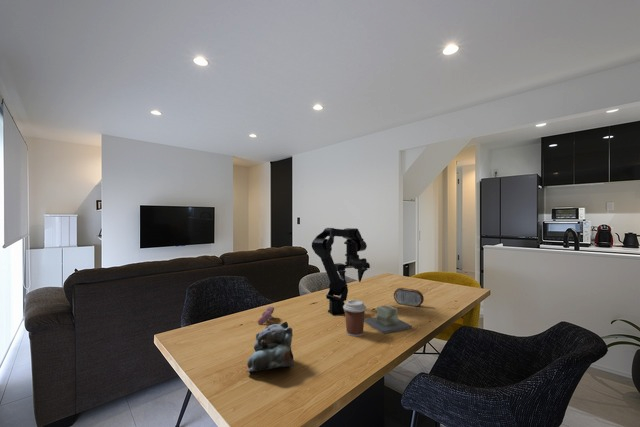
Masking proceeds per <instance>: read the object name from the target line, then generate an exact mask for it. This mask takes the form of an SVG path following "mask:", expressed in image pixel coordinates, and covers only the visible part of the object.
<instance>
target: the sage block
mask: <svg viewBox="0 0 640 427" xmlns="http://www.w3.org/2000/svg"><path fill="white" fill-rule="evenodd" d="M376 317H377V321H378V322H380V323H382V324H384V325H385V326H387V325H392V324H398V319H399V318H398V308H396V307H393V306H392V305H389V304H386V305H379V306H377V307H376Z"/></svg>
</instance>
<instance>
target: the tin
mask: <svg viewBox="0 0 640 427" xmlns="http://www.w3.org/2000/svg"><path fill="white" fill-rule="evenodd" d="M393 299H394V301H395V302H396V303H397V304H399V305H404V306H409V307H414V308H417V307H420V306H421V305H422V304H423V303H424V300H425V299H424V295H423V293H422V292H421V291H419V290H418V289H413V288H406V287H398V288H396V289H395V291H394V293H393Z"/></svg>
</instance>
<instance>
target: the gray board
mask: <svg viewBox="0 0 640 427" xmlns="http://www.w3.org/2000/svg"><path fill="white" fill-rule="evenodd" d="M364 323H366V324H368V325H369V326H371V327H372V328H374V329H375V330H377V331H379V332H380V333H382V334H389V333H394V332H400V331H405V330H409V329H412V327H413V326H412V324H410V323H407V322H405V321H404V320H401V319H399V318H398V324H392V325H387V326H385V325H384V324H382V323H380V322H378V321H377V316H376V317H368V318H364Z"/></svg>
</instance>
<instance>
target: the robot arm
mask: <svg viewBox="0 0 640 427" xmlns="http://www.w3.org/2000/svg"><path fill="white" fill-rule="evenodd" d="M327 237H328V238H327ZM335 237H338V238H339V237H342V238H343V239H345V241H344V243H343V244H344V245H345V246H346V248H345V249H346V251H345V252H346V253H345V254H344V256H345V257H346V259H345V260H346V261H344V263H341V262H340V263H339V262H337V263H335V262H334V259H333V257H332V255H331V254H332V249H333V247H332V246H333V244H334V242H335ZM367 245H368V244H367V243H366V241H364V238H363V237H362V235H361V232H360V230H359V229H358V228H357V227H356V228H354V227H353V228H352V227H351V228H350V227H349V228H347V227H345V228H334V227H326V228H324V229H323V231H322V232H320V233H319V234H318V235H316V237H315V238H314V239H313V240H312V242H311V249H312V250H313V252H314V253H315V255H317V257H319V258H320V260H321V263H322V265H323V268H324V270H325V273H326V275H327V277H328V279H329V284H328V291H327V293H326V295H325V297H326V298H325V299H326V300H329V301H328V303H329V304H328V308H329V309H327V312H328V313H329V314H331V315H332V316H338V315H344V314H345V310H344V309H343V306H344V305H345V304H346V302H347V300H348V298H347V297H348V293H349V289H348V283H347V281H346V273H347V271H346V269H352V268H353V269H355V270H357V279H358V282H359V283H361V281H362V279H363V275H364V273H365V272H366V271H368V269H370V268H371V265H370V262H368V261H367V258H366V257H365V258H360V255H359V254H358V252H364V251H365V250H367V247H368V246H367Z"/></svg>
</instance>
